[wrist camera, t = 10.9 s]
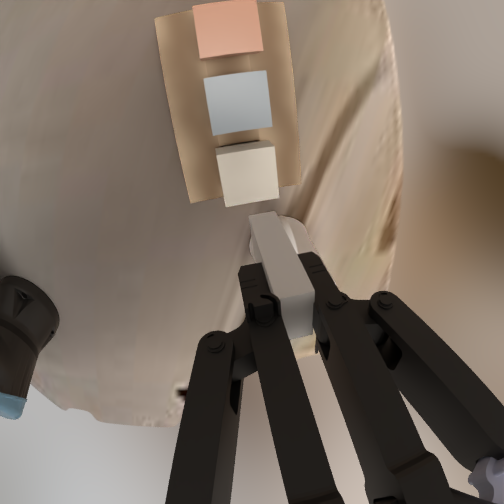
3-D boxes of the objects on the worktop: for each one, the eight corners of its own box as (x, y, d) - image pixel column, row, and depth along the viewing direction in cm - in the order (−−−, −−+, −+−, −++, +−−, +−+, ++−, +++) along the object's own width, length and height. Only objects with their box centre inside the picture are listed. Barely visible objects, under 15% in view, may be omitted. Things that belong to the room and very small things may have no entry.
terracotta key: (201, 64, 22) (200, 58, 16) (195, 23, 19) (192, 6, 14) (249, 58, 22) (263, 50, 17) (244, 17, 20) (255, -2, 14)
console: (192, 186, 32) (190, 203, 28) (162, 27, 21) (154, 18, 17) (288, 169, 33) (301, 183, 29) (271, 12, 21) (283, 2, 17)
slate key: (211, 123, 26) (212, 135, 20) (204, 79, 23) (203, 78, 17) (257, 116, 26) (272, 126, 21) (251, 73, 23) (266, 70, 18)
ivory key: (221, 180, 30) (225, 207, 24) (213, 138, 27) (216, 155, 21) (263, 172, 30) (279, 197, 24) (259, 131, 27) (274, 146, 22)
